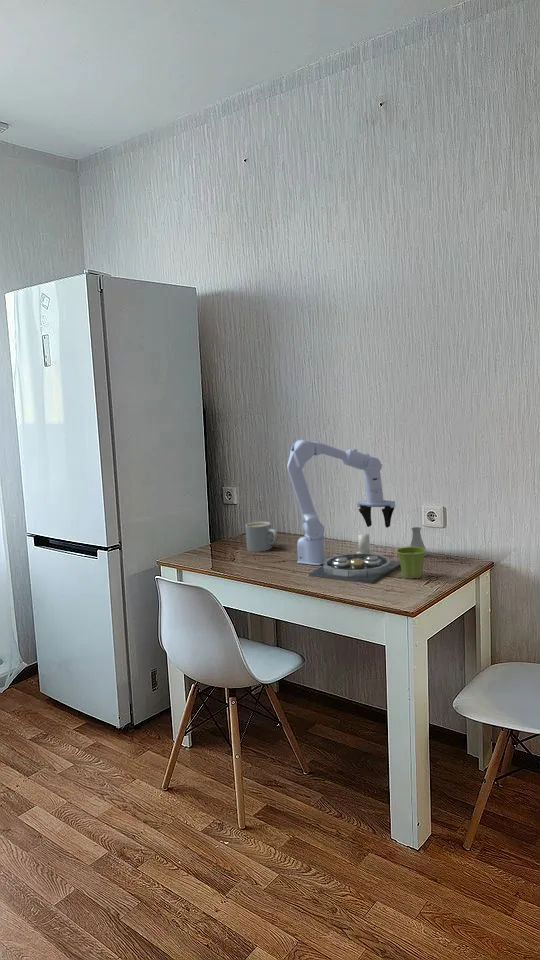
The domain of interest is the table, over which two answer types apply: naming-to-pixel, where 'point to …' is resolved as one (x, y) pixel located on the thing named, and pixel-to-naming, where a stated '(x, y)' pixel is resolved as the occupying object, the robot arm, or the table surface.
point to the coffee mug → (259, 536)
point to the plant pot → (411, 561)
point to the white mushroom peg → (364, 544)
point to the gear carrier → (356, 567)
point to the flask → (417, 539)
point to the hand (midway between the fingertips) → (378, 526)
